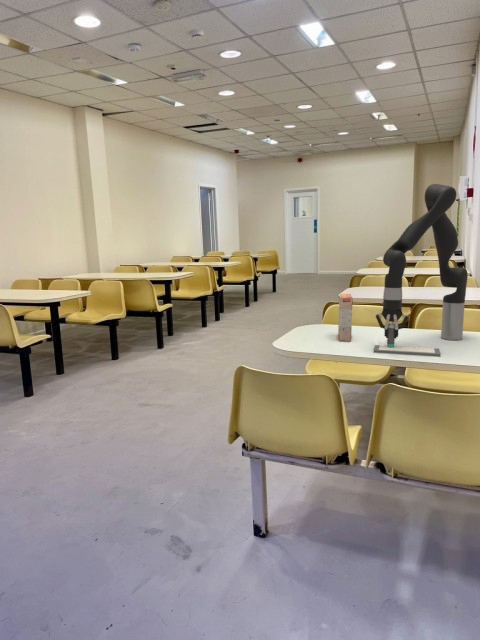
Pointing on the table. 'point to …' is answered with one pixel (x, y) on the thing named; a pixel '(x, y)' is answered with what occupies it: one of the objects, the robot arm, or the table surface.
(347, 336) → the cracker box
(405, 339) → the table surface
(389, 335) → the marker
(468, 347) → the table surface
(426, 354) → the drawing board
